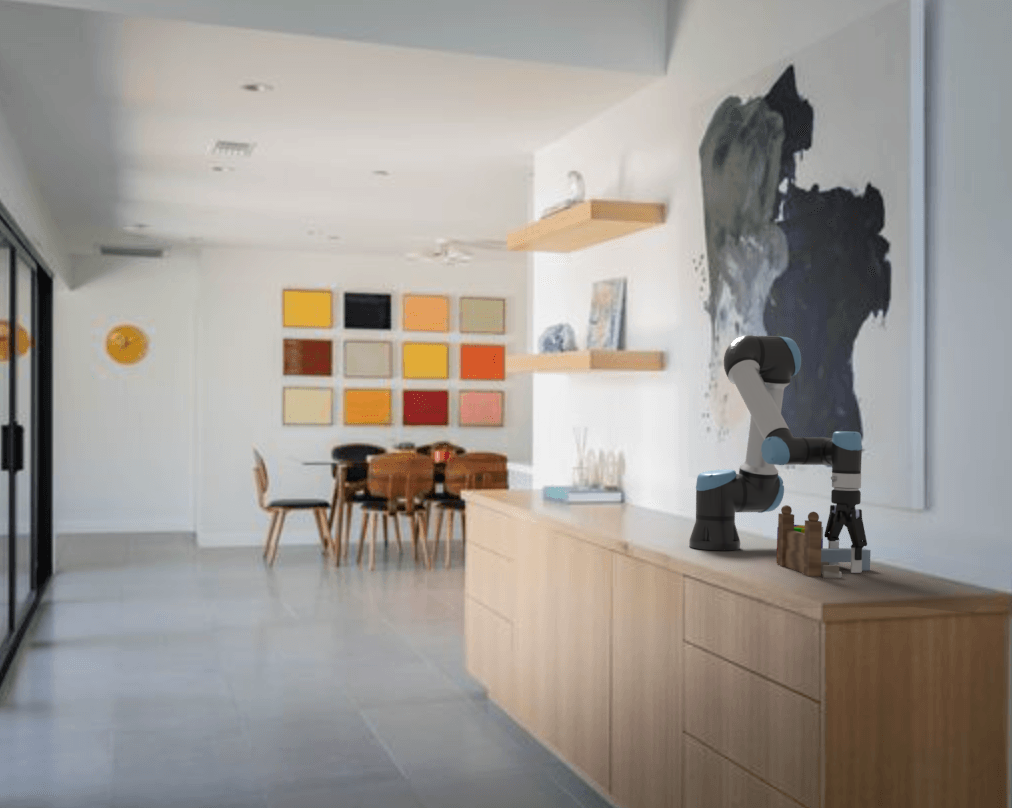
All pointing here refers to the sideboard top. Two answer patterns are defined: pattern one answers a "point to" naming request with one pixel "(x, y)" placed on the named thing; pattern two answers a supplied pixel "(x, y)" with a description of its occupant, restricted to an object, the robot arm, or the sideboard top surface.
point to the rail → (844, 556)
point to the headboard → (802, 546)
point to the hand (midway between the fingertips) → (844, 568)
